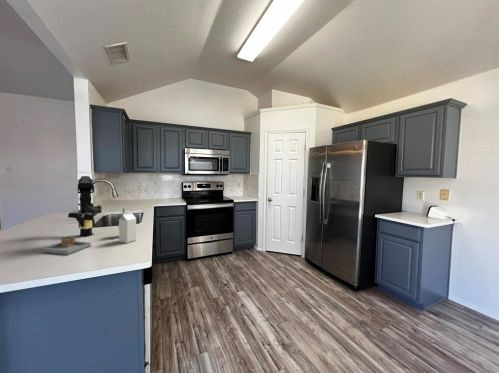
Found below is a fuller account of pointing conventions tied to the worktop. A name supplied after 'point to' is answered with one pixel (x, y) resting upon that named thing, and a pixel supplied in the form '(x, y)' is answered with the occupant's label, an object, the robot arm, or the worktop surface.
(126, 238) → the milk carton
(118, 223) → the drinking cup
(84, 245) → the tray
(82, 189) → the robot arm
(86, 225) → the mustard block
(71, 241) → the walnut block
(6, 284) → the worktop surface
